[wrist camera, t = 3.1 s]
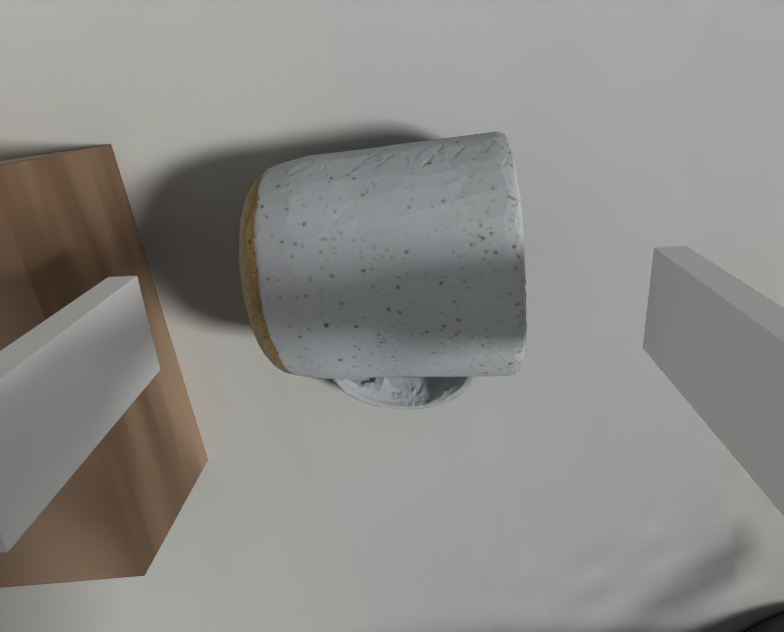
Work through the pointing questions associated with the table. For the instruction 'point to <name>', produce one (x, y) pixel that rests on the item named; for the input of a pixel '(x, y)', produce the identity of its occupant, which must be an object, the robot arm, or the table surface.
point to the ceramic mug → (389, 268)
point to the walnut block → (144, 416)
